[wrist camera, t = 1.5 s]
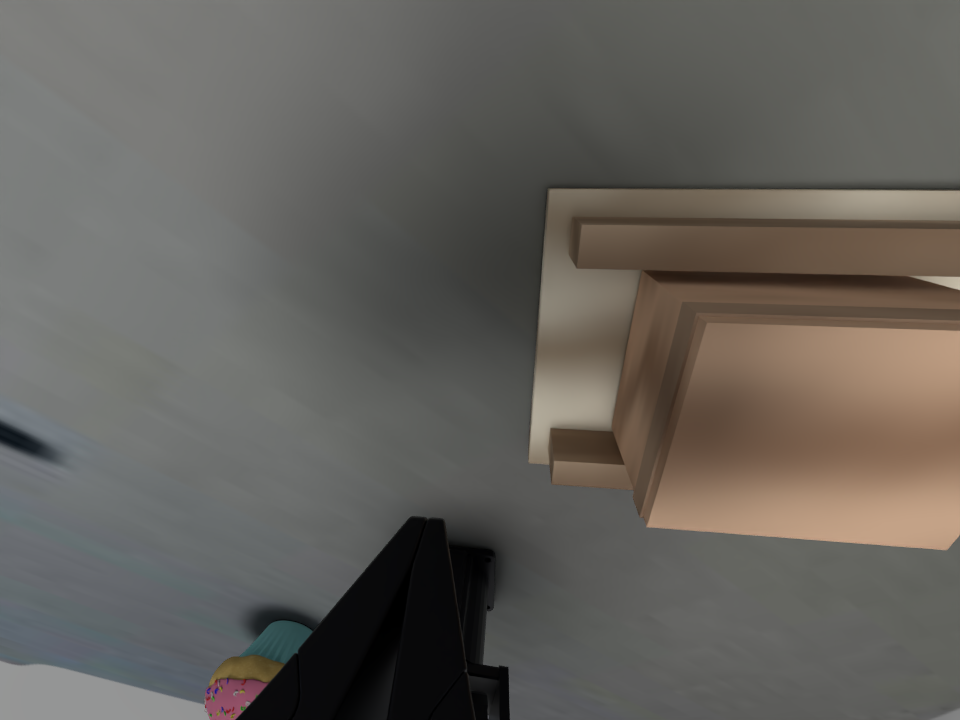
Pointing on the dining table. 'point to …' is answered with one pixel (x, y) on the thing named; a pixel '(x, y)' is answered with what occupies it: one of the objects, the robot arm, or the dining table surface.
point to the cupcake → (252, 669)
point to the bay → (694, 247)
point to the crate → (794, 406)
